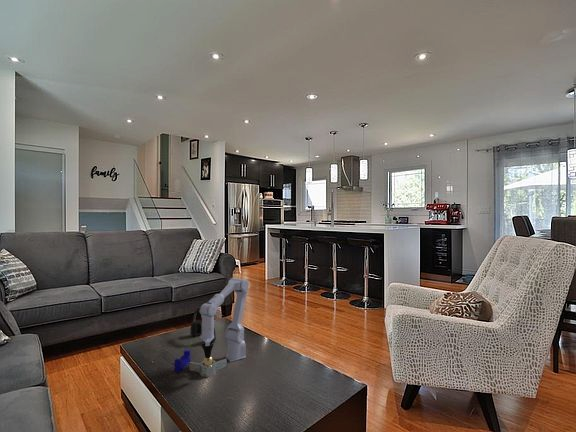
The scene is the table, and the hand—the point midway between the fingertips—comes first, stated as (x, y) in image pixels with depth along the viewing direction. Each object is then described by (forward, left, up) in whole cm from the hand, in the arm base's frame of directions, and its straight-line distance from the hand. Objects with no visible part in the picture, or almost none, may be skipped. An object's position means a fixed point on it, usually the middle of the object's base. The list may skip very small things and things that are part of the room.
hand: (208, 354), depth 156 cm
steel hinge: (-2, -2, -9) cm, 10 cm away
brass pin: (0, 0, -9) cm, 9 cm away
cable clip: (+10, -15, -10) cm, 20 cm away
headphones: (-11, -45, -10) cm, 47 cm away
